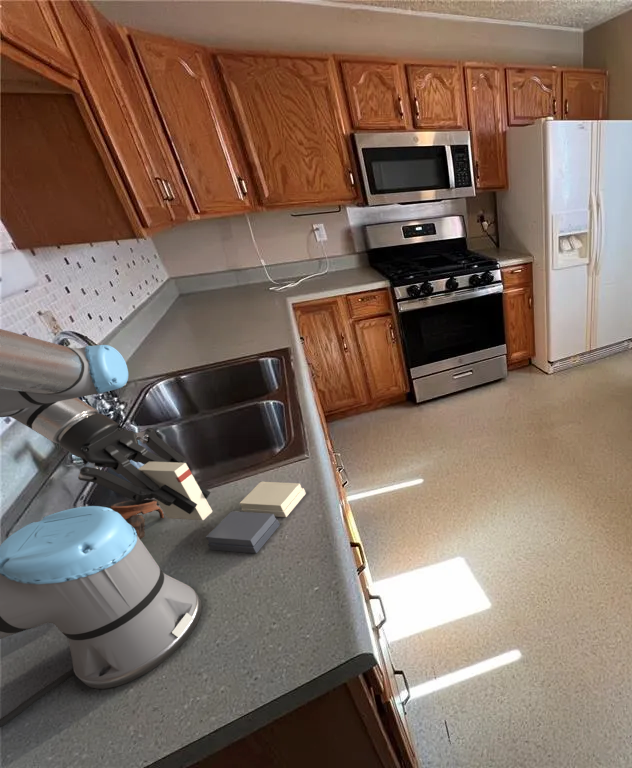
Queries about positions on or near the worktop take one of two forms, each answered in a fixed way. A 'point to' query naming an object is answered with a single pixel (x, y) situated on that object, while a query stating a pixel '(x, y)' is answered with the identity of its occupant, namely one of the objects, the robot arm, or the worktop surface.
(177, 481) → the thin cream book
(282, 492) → the cream books
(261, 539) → the grey books
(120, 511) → the brown footed bowl
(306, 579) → the worktop surface
